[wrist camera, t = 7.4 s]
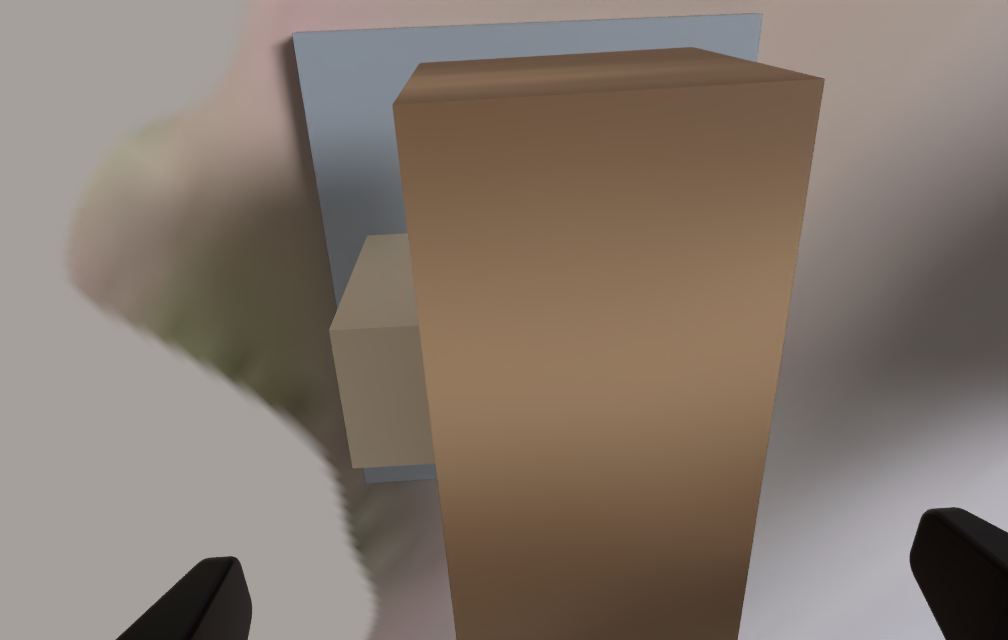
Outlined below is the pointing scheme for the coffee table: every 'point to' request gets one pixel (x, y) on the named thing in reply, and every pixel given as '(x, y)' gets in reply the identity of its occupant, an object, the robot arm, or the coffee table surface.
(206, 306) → the coffee table surface
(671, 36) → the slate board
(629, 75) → the walnut rod
